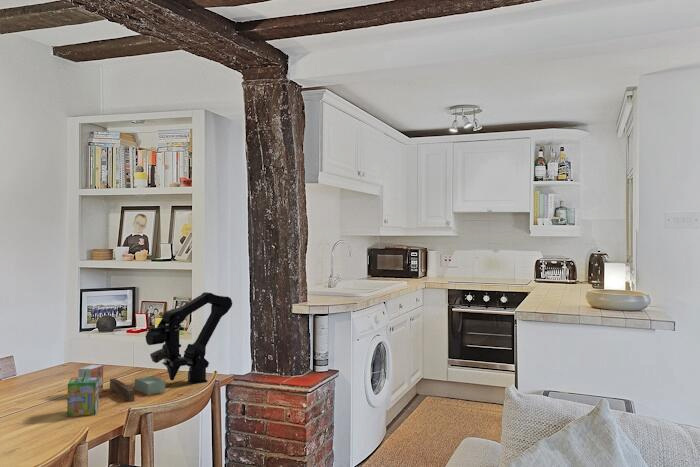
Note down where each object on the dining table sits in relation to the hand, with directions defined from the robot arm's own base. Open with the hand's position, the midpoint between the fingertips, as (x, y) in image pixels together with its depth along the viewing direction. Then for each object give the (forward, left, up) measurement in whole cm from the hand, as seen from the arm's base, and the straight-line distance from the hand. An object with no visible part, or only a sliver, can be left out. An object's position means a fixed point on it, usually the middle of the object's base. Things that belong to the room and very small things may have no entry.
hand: (171, 380), depth 241 cm
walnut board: (+20, 0, -3) cm, 20 cm away
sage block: (+9, 0, -3) cm, 10 cm away
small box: (+29, -9, -3) cm, 31 cm away
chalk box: (+38, +16, -3) cm, 41 cm away
